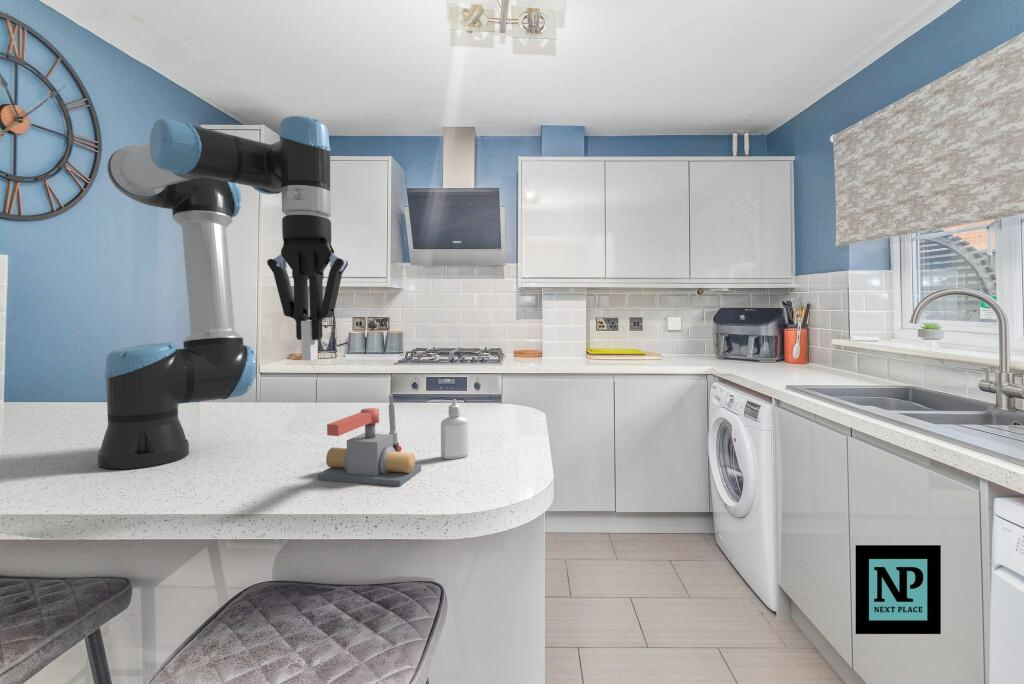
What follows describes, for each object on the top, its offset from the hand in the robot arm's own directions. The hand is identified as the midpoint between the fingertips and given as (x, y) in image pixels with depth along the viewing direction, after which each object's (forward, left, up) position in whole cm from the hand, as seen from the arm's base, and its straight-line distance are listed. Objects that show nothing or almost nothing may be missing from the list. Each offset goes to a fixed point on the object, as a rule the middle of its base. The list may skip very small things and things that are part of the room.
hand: (310, 359), depth 85 cm
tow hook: (0, +21, -22) cm, 31 cm away
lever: (+6, +4, -12) cm, 14 cm away
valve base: (+6, +9, -22) cm, 24 cm away
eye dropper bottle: (+17, +24, -22) cm, 37 cm away
